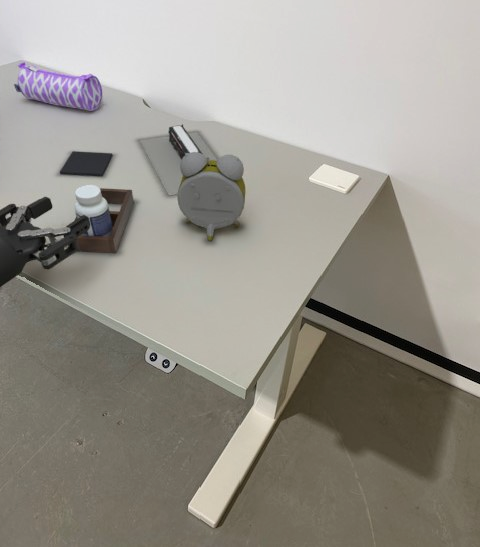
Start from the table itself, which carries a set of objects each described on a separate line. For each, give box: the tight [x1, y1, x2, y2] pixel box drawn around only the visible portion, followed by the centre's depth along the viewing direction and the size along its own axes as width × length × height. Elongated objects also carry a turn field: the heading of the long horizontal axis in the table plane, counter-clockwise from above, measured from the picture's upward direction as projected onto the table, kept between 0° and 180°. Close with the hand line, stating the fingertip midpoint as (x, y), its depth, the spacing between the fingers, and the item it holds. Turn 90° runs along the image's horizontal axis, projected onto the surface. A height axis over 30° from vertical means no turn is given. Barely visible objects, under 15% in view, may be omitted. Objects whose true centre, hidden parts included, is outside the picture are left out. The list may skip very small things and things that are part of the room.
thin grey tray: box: [139, 123, 218, 196], centre depth 94 cm, size 14×25×4 cm, turn 23°
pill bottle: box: [74, 184, 113, 237], centre depth 72 cm, size 5×5×10 cm
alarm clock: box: [177, 152, 247, 241], centre depth 73 cm, size 12×7×15 cm, turn 86°
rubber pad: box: [59, 150, 113, 177], centre depth 92 cm, size 9×9×1 cm
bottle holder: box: [73, 187, 135, 254], centre depth 77 cm, size 8×15×3 cm, turn 179°
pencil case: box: [13, 61, 103, 112], centre depth 111 cm, size 22×9×10 cm, turn 72°
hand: (68, 210), depth 67 cm, fingers open, 8 cm apart
